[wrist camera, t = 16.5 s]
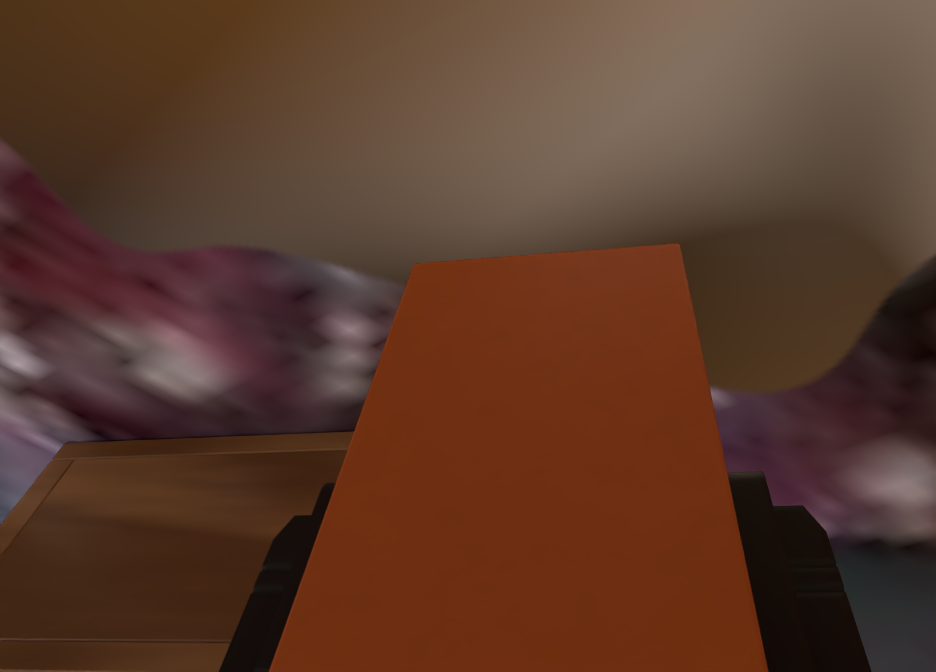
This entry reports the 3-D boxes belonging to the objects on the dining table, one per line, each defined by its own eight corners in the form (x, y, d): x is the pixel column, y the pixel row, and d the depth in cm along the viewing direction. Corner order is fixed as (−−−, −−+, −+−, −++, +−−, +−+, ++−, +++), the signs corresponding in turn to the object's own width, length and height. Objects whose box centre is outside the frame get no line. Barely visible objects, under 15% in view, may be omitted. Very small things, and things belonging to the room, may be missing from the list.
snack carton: (438, 385, 19) (246, 1178, 8) (412, 262, 17) (126, 1061, 6) (681, 373, 18) (826, 1254, 7) (680, 241, 16) (866, 1140, 5)
